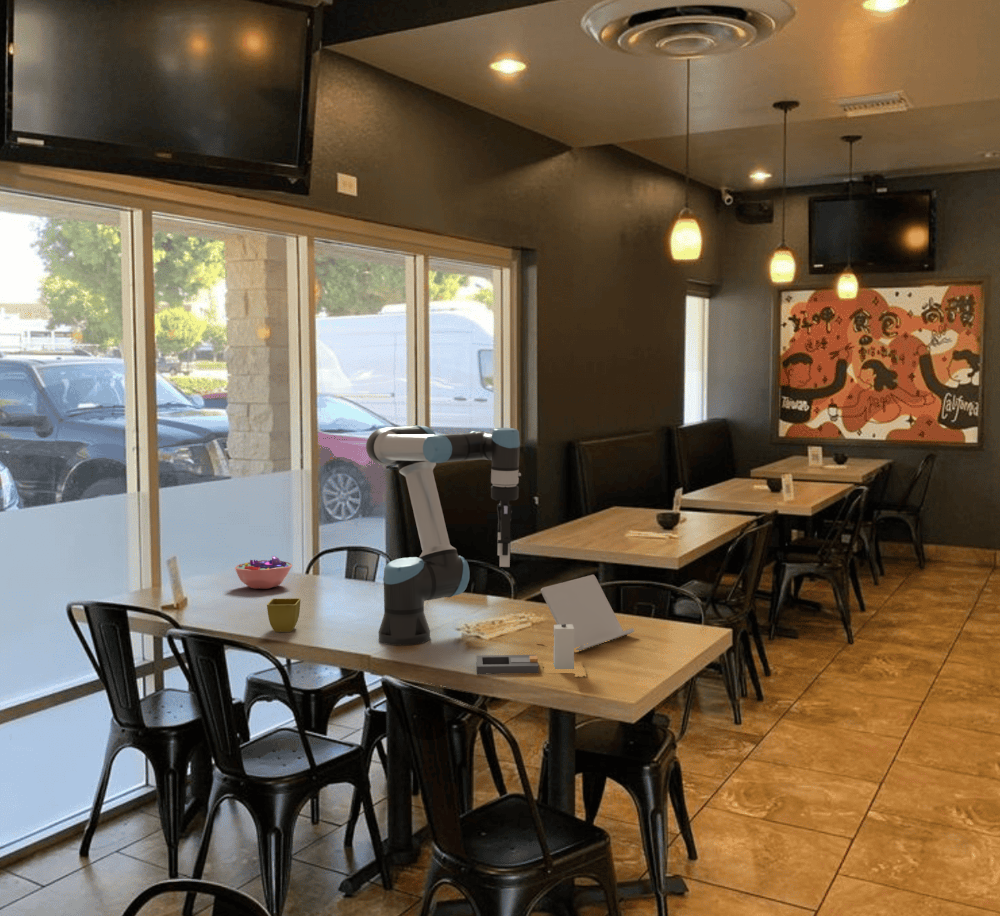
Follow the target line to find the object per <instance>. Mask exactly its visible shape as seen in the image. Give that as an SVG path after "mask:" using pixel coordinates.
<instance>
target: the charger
mask: <svg viewBox="0 0 1000 916" xmlns="http://www.w3.org/2000/svg"><path fill="white" fill-rule="evenodd" d="M553 635H554V646H553V661H554V663H553V664H554V667H555V669H574V661H575V653H574V627H573V625H572V624H561V625H557V624H553Z"/></svg>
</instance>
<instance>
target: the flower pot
mask: <svg viewBox="0 0 1000 916" xmlns="http://www.w3.org/2000/svg"><path fill="white" fill-rule="evenodd" d="M266 609H267V615H268V621H269V623H270V627H271V629H272V630H273V631H274V632H275V633H290V632H291V633H292V632H293V631H294V629H295V627H296V625H297V624H298V620H299V617H300V609H301V598H297V597H295V598H293V597H292V598H290V597H289V598H272V599H270V601H269V602H268V603H267V604H266Z"/></svg>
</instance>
